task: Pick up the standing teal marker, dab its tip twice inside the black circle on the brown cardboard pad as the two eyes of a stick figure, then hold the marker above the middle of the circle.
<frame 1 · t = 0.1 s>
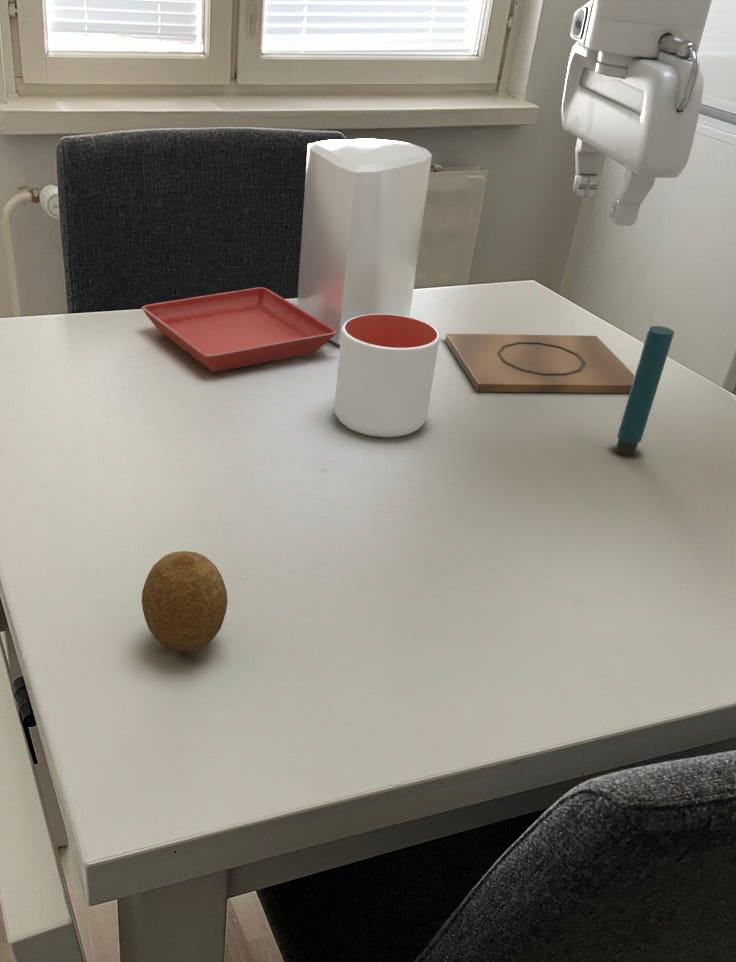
hand: (601, 208, 88), 24 cm above the table, tool pointing down, fingers open, 8 cm apart
pad: (539, 366, 122), on the table
cup: (378, 422, 107), on the table
fruit: (184, 647, 74), on the table
plant saucer: (236, 345, 123), on the table
silvery white canister: (360, 324, 131), on the table
marker: (625, 451, 104), on the table
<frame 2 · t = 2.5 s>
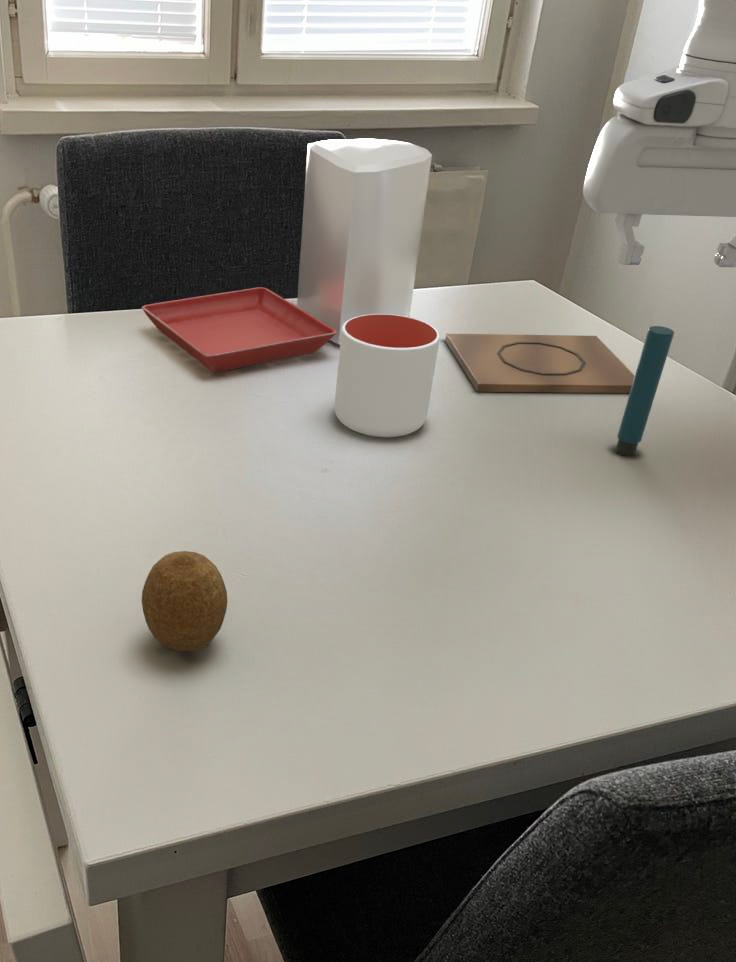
hand: (676, 264, 92), 19 cm above the table, tool pointing down, fingers open, 8 cm apart
nothing on the table moved.
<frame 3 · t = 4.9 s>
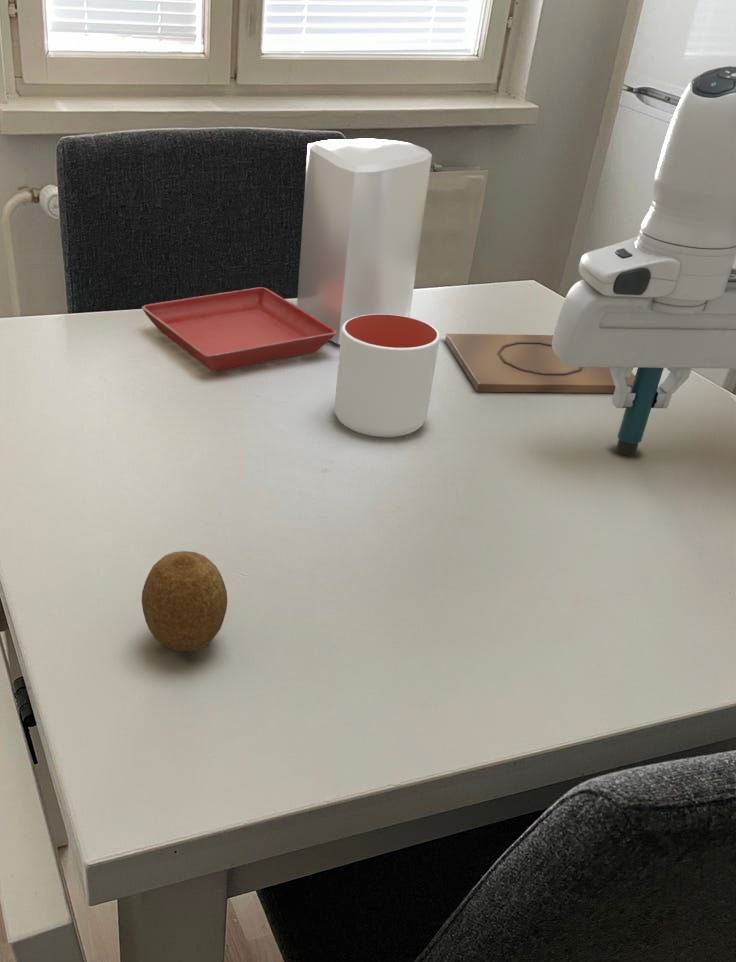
hand: (638, 406, 101), 5 cm above the table, tool pointing down, fingers closed on marker, 2 cm apart
marker: (625, 451, 104), on the table, touching gripper
everything else where it was.
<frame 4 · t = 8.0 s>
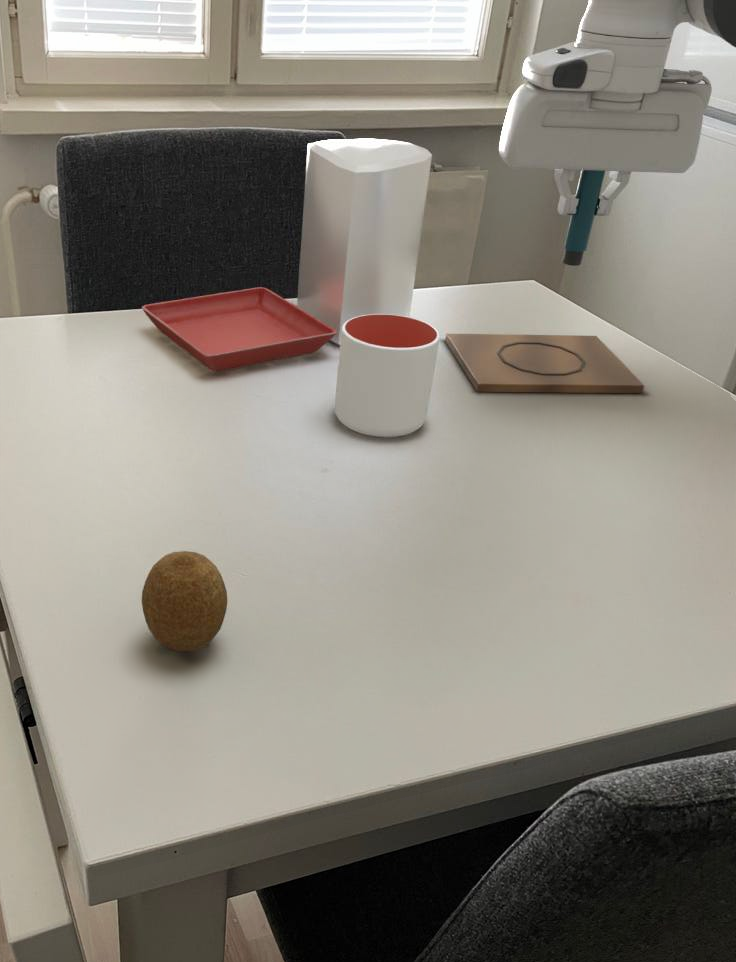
hand: (582, 214, 106), 19 cm above the table, tool pointing down, fingers closed on marker, 2 cm apart
marker: (571, 263, 109), point 14 cm above the table, touching gripper
everything else where it was.
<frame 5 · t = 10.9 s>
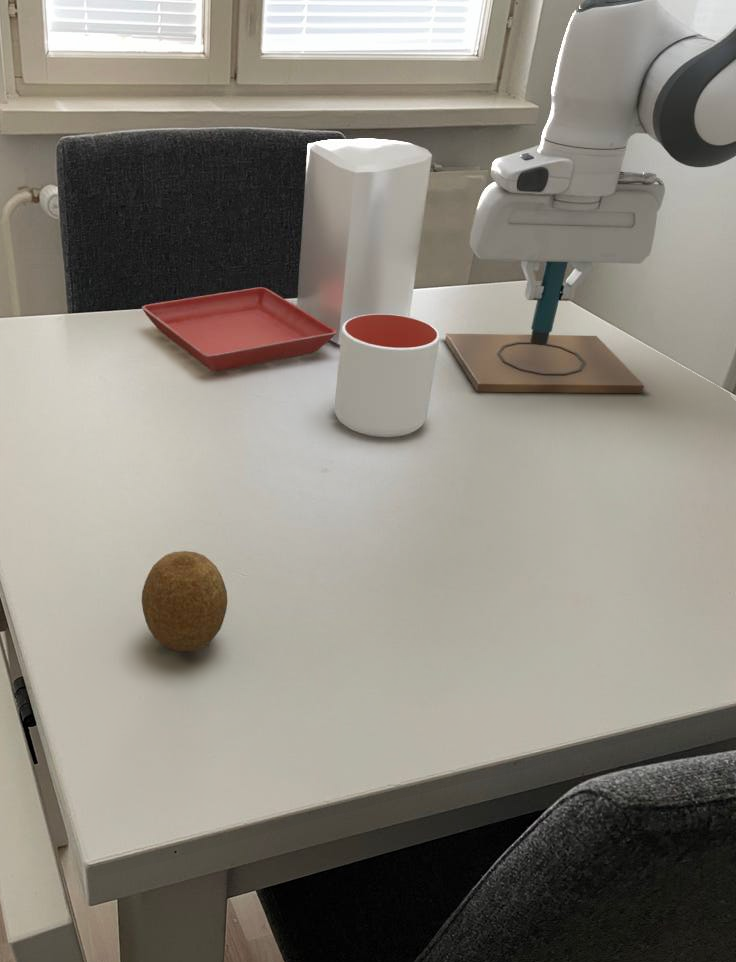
hand: (547, 299, 115), 9 cm above the table, tool pointing down, fingers closed on marker, 2 cm apart
marker: (538, 342, 118), point 4 cm above the table, touching gripper
everything else where it was.
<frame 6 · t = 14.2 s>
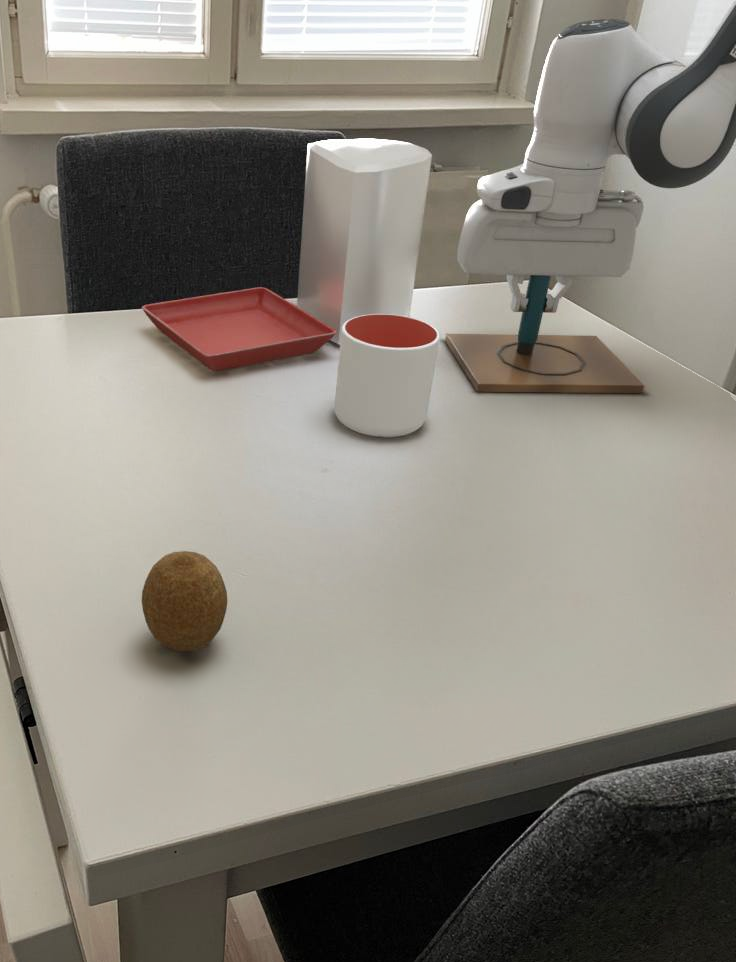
hand: (532, 310, 120), 6 cm above the table, tool pointing down, fingers closed on marker, 2 cm apart
marker: (524, 351, 123), point 1 cm above the table, touching gripper, pad
everything else where it was.
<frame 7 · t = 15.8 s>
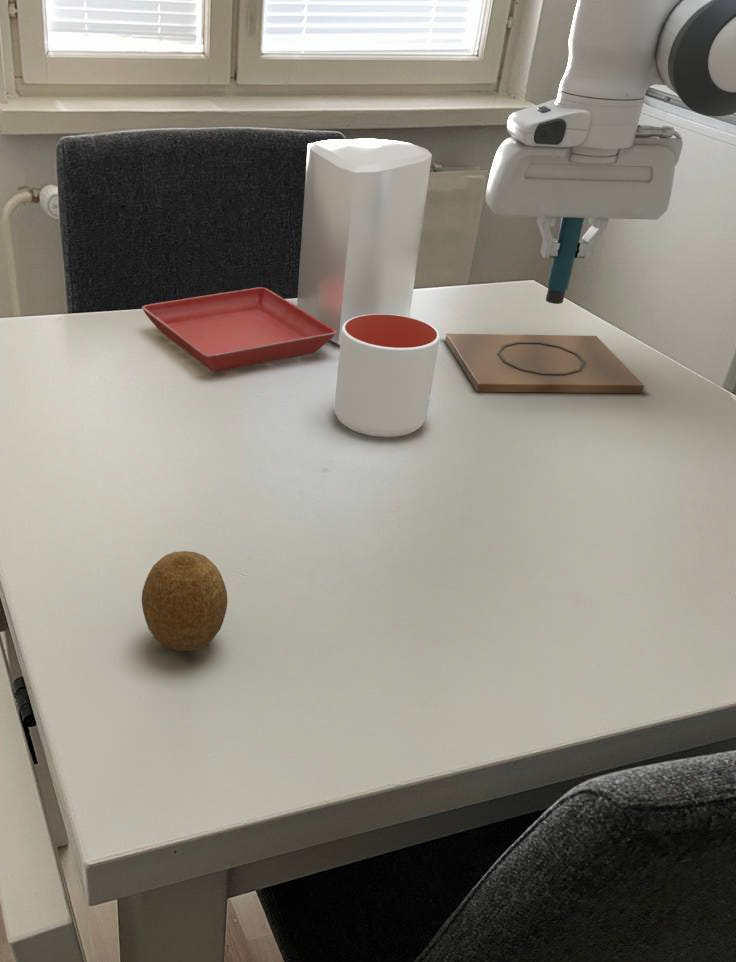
hand: (563, 256, 114), 13 cm above the table, tool pointing down, fingers closed on marker, 2 cm apart
marker: (554, 301, 117), point 8 cm above the table, touching gripper
everything else where it was.
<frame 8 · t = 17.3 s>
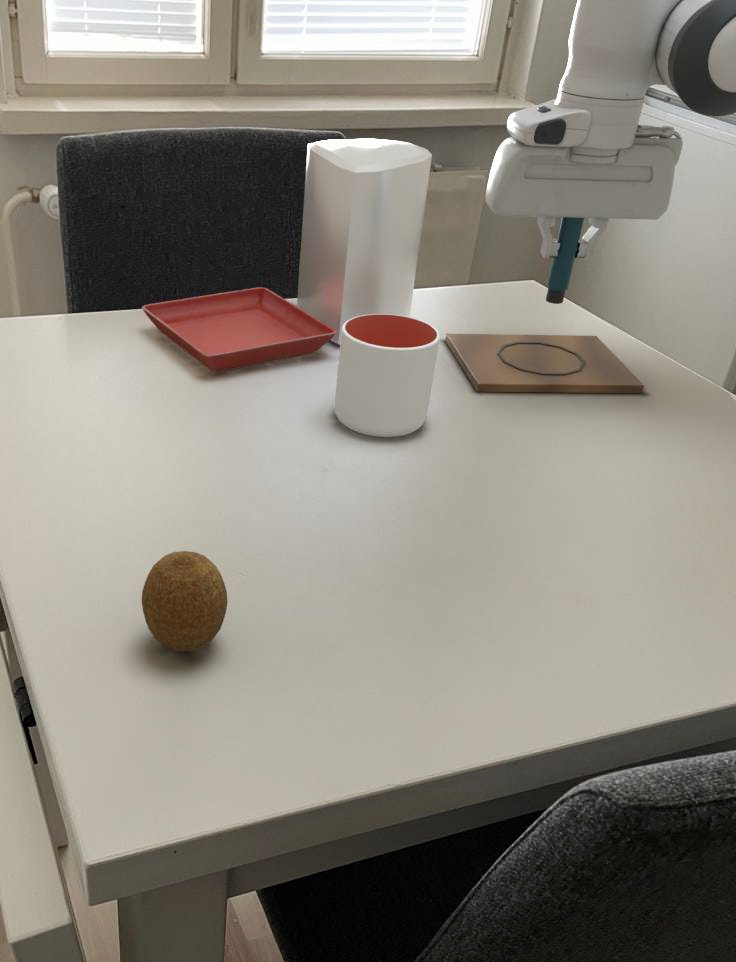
hand: (563, 256, 114), 13 cm above the table, tool pointing down, fingers closed on marker, 2 cm apart
marker: (554, 301, 117), point 8 cm above the table, touching gripper
everything else where it was.
at the end: the gripper is holding marker; marker inside the target area on the pad (0.0 cm from its centre), point 8.0 cm above the pad's base; marker moved 24.4 cm from its start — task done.
